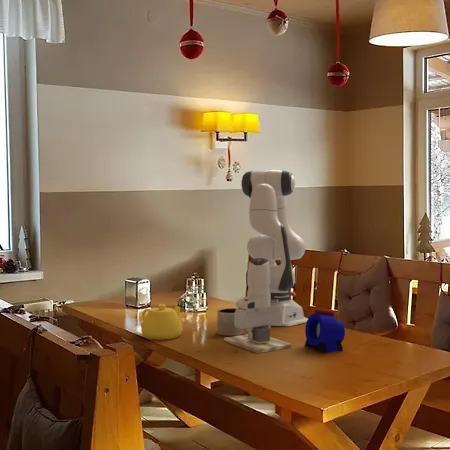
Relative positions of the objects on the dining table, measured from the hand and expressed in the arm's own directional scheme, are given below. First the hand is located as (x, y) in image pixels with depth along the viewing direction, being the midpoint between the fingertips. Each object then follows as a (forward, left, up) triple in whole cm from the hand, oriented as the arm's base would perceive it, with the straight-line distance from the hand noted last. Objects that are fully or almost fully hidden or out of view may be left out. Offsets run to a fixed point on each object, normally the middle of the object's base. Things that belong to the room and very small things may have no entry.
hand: (258, 337), depth 246 cm
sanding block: (0, 0, -1) cm, 1 cm away
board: (0, -1, -3) cm, 3 cm away
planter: (-1, -21, -3) cm, 22 cm away
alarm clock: (-18, +17, -3) cm, 25 cm away
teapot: (+23, -35, -3) cm, 42 cm away
